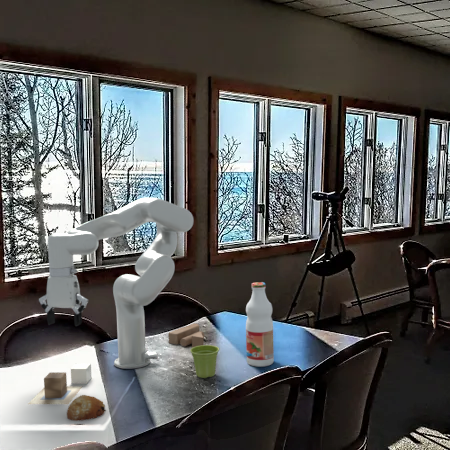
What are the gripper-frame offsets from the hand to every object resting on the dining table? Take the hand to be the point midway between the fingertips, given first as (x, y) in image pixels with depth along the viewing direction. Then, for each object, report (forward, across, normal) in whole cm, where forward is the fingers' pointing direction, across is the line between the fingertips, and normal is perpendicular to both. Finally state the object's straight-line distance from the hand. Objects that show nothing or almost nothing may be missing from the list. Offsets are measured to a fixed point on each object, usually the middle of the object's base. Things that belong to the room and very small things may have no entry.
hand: (64, 324), depth 187 cm
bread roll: (+19, -21, +25) cm, 37 cm away
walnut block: (+17, -5, +15) cm, 23 cm away
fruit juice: (+19, -58, -30) cm, 68 cm away
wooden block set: (+20, -28, -51) cm, 61 cm away
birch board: (+19, -5, +15) cm, 24 cm away
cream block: (+19, -6, +2) cm, 20 cm away
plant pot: (+19, -43, -14) cm, 49 cm away
